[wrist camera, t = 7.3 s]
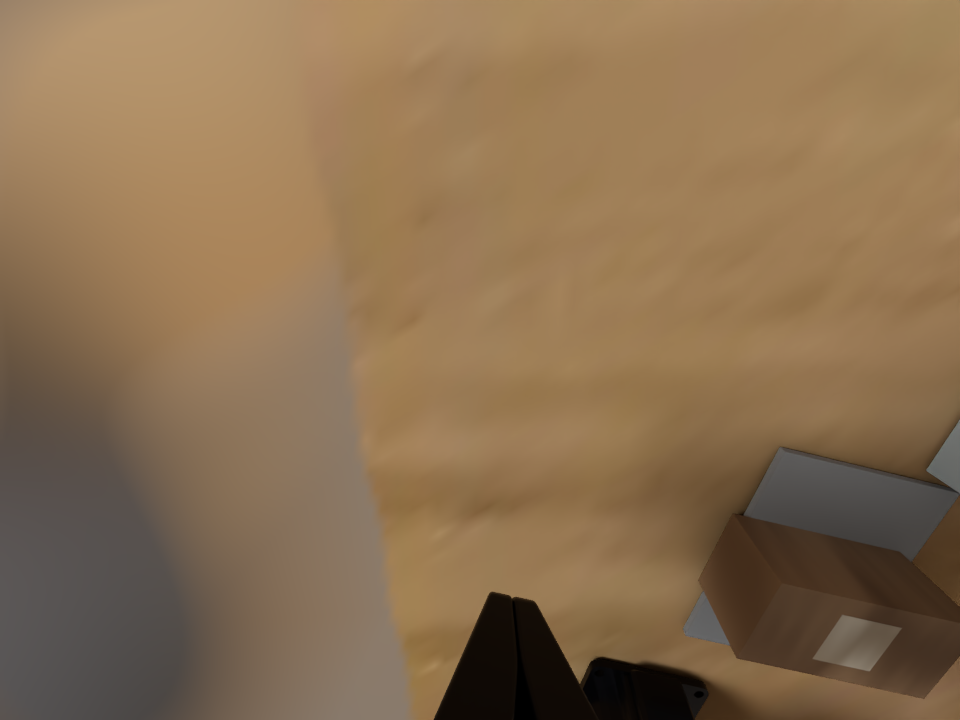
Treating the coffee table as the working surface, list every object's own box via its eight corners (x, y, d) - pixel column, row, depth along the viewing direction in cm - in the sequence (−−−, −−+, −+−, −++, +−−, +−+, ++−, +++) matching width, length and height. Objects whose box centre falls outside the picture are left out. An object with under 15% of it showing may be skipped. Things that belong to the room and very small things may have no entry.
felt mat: (830, 661, 25) (835, 668, 24) (682, 628, 24) (685, 635, 24) (952, 488, 21) (960, 493, 21) (780, 446, 21) (785, 451, 20)
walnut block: (698, 580, 23) (855, 615, 23) (736, 658, 19) (924, 698, 19) (732, 513, 21) (900, 551, 22) (781, 583, 18) (982, 628, 18)
